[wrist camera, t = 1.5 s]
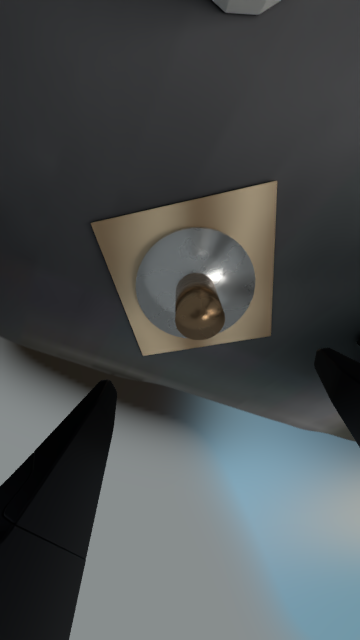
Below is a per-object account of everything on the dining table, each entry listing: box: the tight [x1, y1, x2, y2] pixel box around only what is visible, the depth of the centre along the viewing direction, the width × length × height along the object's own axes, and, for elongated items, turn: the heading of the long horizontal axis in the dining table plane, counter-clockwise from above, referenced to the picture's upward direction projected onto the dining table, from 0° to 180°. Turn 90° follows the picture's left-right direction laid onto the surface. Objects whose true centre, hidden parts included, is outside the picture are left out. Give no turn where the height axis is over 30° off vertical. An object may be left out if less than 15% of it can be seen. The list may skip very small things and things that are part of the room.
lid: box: [136, 227, 255, 340], centre depth 15 cm, size 9×9×5 cm
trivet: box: [91, 181, 277, 356], centre depth 17 cm, size 12×12×1 cm
